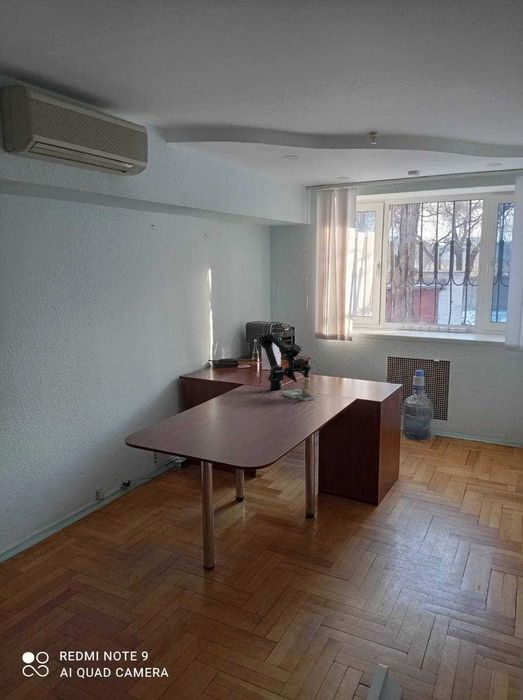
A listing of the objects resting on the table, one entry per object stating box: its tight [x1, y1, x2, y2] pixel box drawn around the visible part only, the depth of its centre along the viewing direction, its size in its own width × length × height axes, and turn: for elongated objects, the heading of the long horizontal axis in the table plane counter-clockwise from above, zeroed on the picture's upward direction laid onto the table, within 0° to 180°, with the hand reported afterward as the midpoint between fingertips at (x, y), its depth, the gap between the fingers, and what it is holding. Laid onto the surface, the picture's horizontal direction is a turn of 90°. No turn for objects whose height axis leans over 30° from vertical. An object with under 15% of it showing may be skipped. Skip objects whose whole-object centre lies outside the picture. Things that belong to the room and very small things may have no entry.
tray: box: [282, 389, 302, 399], centre depth 328 cm, size 12×12×2 cm
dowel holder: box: [296, 394, 315, 402], centre depth 319 cm, size 8×8×2 cm
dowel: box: [301, 377, 311, 397], centre depth 318 cm, size 5×5×13 cm
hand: (302, 381), depth 321 cm, fingers open, 9 cm apart
